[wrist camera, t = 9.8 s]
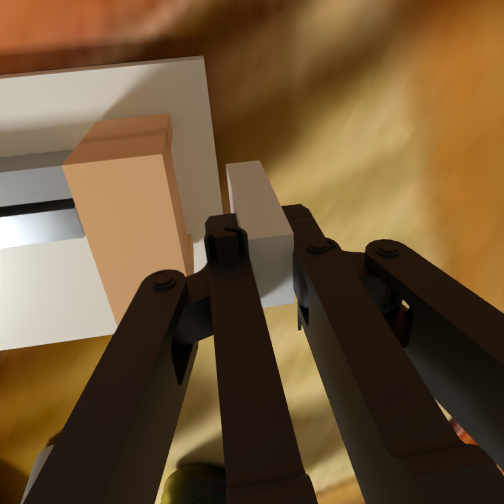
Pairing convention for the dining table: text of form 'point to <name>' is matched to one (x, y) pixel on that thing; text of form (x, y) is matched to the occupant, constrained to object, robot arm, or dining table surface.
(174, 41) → the dining table surface
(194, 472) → the bottle
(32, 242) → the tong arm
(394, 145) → the dining table surface
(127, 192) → the tan wooden block
